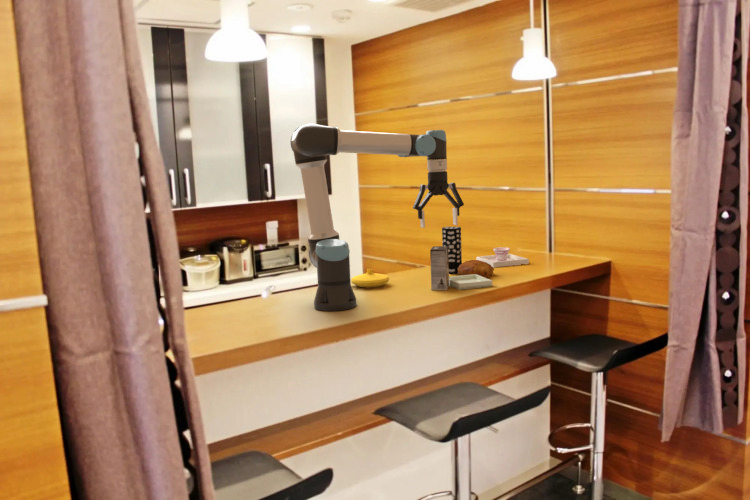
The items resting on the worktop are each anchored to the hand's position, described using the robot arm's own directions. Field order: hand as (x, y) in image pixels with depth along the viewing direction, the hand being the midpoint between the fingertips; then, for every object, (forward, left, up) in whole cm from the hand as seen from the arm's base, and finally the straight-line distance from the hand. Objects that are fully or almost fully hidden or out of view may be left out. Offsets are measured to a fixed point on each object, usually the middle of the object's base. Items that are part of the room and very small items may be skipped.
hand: (439, 226), depth 241 cm
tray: (+12, +1, -25) cm, 27 cm away
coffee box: (0, 0, -25) cm, 25 cm away
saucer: (+47, +39, -25) cm, 66 cm away
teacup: (+47, +39, -24) cm, 66 cm away
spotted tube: (+17, +28, -25) cm, 41 cm away
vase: (-24, +17, -25) cm, 39 cm away
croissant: (+23, +16, -25) cm, 37 cm away
